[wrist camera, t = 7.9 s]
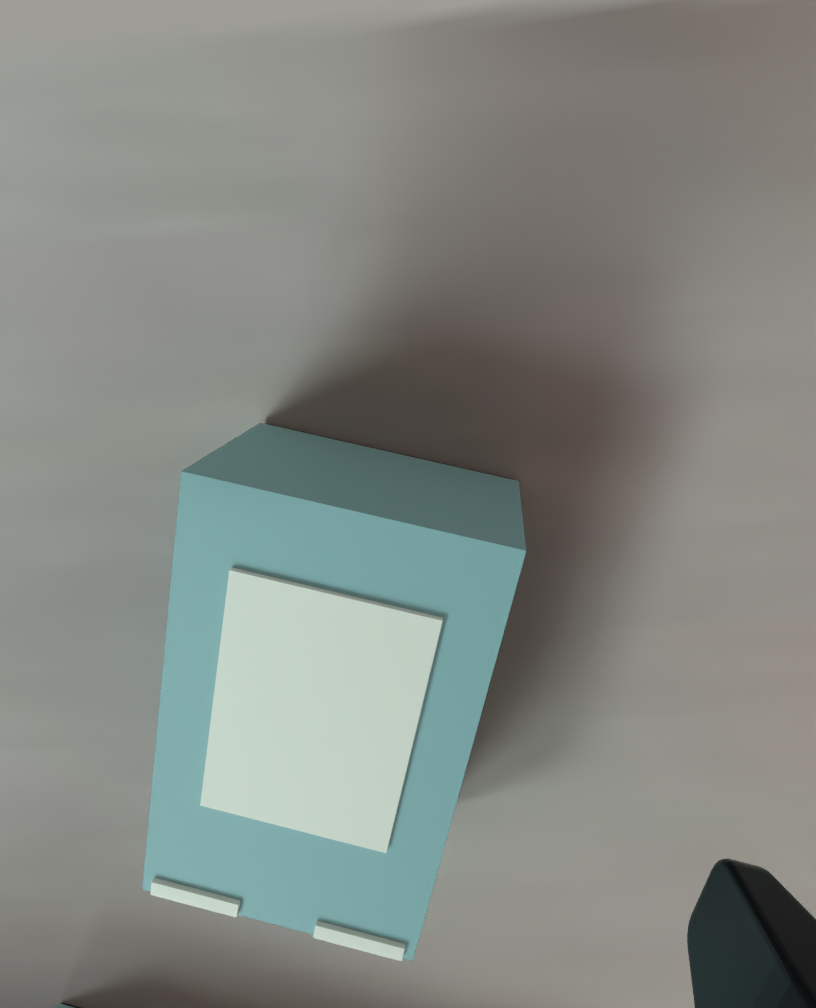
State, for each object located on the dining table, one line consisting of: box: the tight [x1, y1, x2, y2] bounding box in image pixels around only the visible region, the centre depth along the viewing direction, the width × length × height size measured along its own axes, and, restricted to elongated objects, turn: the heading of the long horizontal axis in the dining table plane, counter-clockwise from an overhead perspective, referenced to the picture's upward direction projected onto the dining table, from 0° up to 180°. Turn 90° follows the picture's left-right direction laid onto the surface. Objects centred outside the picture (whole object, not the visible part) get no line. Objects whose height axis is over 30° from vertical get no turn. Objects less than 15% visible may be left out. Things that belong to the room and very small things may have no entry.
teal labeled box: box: [142, 423, 526, 961], centre depth 13 cm, size 8×5×4 cm, turn 169°
